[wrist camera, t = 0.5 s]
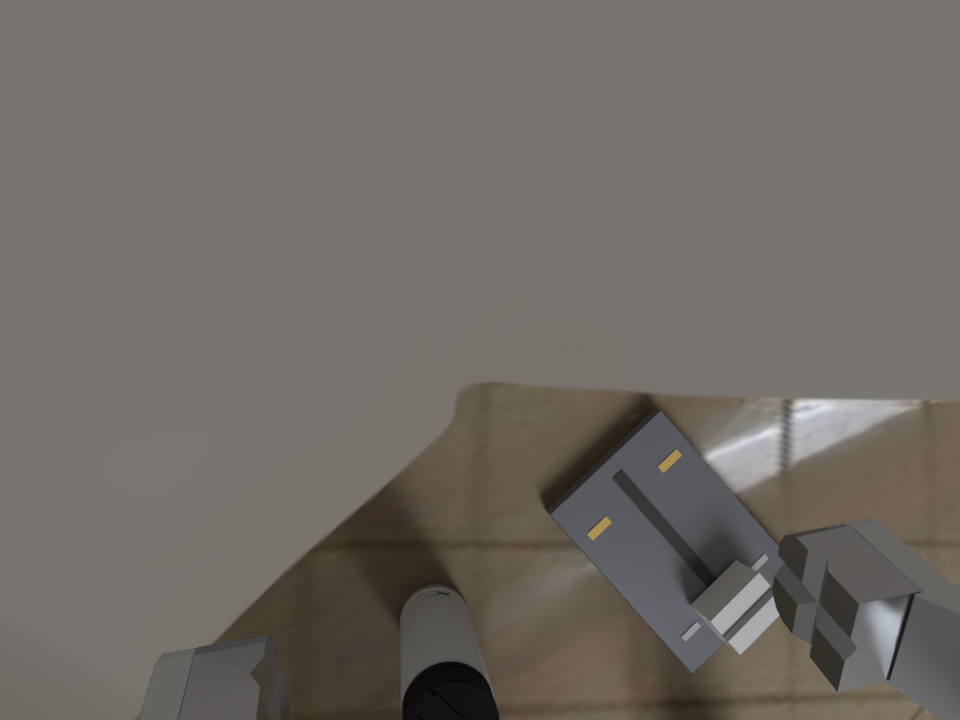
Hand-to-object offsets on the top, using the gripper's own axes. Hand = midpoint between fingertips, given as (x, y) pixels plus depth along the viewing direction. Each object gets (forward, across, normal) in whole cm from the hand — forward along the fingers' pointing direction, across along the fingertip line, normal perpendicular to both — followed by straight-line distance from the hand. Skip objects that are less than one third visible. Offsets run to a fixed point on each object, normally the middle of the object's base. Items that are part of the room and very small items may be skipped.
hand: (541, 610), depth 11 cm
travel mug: (+38, -1, -39) cm, 54 cm away
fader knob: (+34, +26, -40) cm, 59 cm away
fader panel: (+39, +22, -36) cm, 57 cm away
